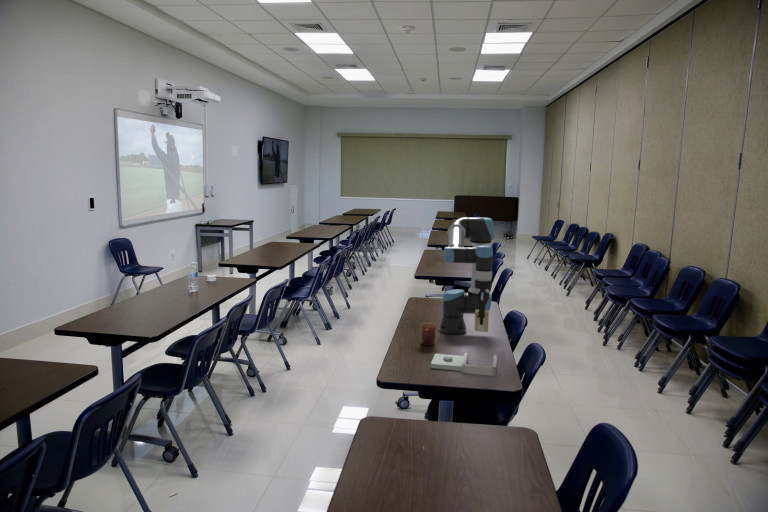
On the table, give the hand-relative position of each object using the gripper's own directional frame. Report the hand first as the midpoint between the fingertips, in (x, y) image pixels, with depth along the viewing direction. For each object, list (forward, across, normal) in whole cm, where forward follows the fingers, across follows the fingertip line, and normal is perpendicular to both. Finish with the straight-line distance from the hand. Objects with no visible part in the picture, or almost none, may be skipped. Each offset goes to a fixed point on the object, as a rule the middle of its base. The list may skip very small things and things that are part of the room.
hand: (481, 329), depth 231 cm
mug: (+17, -22, -28) cm, 39 cm away
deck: (+17, +4, -7) cm, 19 cm away
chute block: (0, 0, 0) cm, 0 cm away
